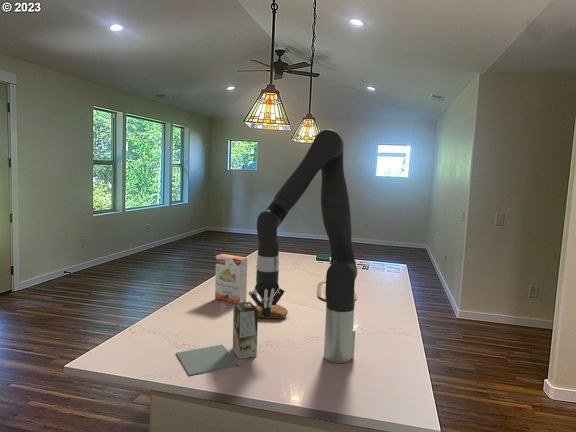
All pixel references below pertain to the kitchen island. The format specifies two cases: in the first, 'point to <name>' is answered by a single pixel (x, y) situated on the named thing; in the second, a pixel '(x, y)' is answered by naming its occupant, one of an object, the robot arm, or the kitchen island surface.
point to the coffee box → (245, 330)
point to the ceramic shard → (274, 311)
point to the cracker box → (231, 278)
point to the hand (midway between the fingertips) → (265, 317)
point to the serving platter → (320, 290)
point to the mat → (206, 359)
